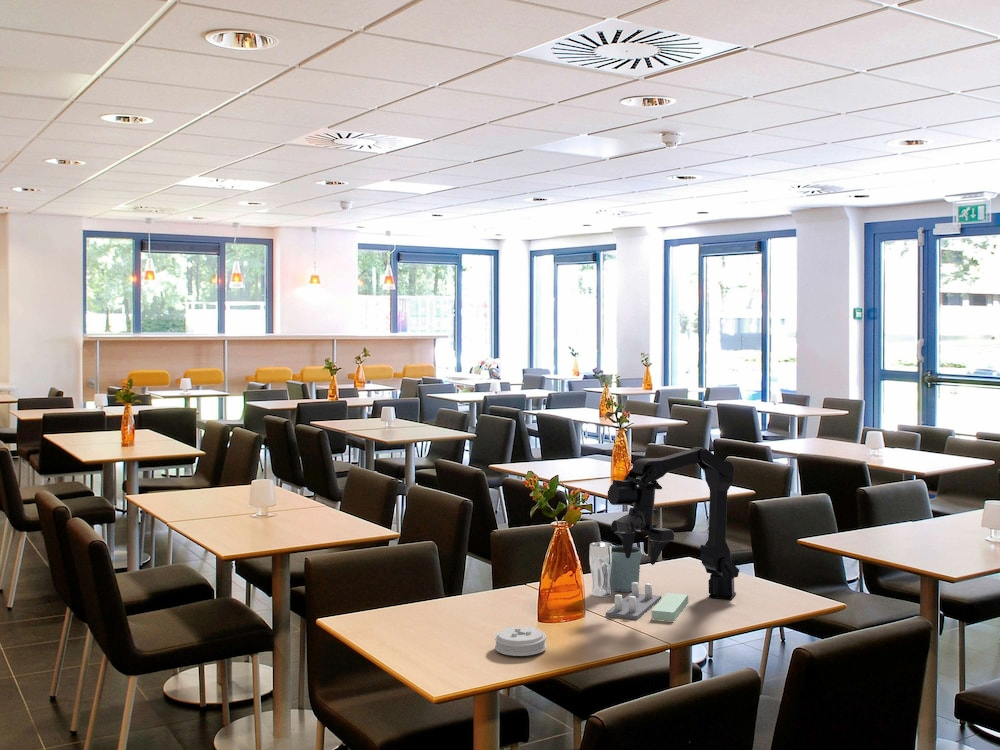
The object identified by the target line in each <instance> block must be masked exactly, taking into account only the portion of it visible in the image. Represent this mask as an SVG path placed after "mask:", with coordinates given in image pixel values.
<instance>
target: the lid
mask: <svg viewBox="0 0 1000 750" xmlns="http://www.w3.org/2000/svg"><path fill="white" fill-rule="evenodd" d="M494 640H495V646H494V649H495V650H496V651H497V653H499V654H502V655H505V656H514V657H517V656H518V657H524V656H525V657H526V656H533V655H537V654H540V653H543V652H544V651H545V650H546V649H547V646H548V645H547V644H546V640H547V634H546V633H545V632H544V631H542V630H541V629H539V628H537V627H531V626H512V627H508V628H504V629H502V630H500V631H499V632H498V633H497V634H495V636H494Z"/></svg>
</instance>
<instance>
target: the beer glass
mask: <svg viewBox="0 0 1000 750" xmlns="http://www.w3.org/2000/svg"><path fill="white" fill-rule="evenodd" d="M612 547H613V544H612V543H611V542H607V541H597V542H591V543H590V544H589V553H588V554H589V557H588V558H589V566H590V567H589V568H590V573H591V578H592V590H591V596H593V597H596V598H609V597H612V596H613V590H612V589H611V575H612V568H613V551H612Z"/></svg>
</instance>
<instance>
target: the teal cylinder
mask: <svg viewBox="0 0 1000 750" xmlns="http://www.w3.org/2000/svg"><path fill="white" fill-rule="evenodd" d="M612 551H613V568H612V575H611V589H612V591H613V590H614V592H617V591H621V592H620V593H628V592H627V591H632V582H638V583H639V584H640V572H641V571H640V569H641V558H642V549H641V548H640V547H637V546H633V547H632V552H631V555H630V558H626V555H625V552H624V548H623V545H615V546H613V545H612Z"/></svg>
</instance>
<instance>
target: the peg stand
mask: <svg viewBox="0 0 1000 750" xmlns="http://www.w3.org/2000/svg"><path fill="white" fill-rule="evenodd" d="M639 586H640V582H639V583H638V582H632V592H629V594H627V595H626V596H625V597H624V598H623V595H622V594H615V595H614V605H613V606H612V607H610V608H609V609H608V610H607V611H606V612H605V617H608V618H609V617H610V618H611V617H613V618H620V619H626V620H627V619H628V620H637V621H638V620H639V619H641V617H642V616H643V615H645V614H646V613H647V612H649V611H650V609H652V608H653V607H654V606H656V605H657V604H658V603H659V602H660V601H661V600H660V599H662V596H661V595H655V594H653V584H652V583H648V582H647V583H644V593H639V591H640V589H639V588H640V587H639ZM659 600H660V601H659ZM653 605H654V606H653ZM652 606H653V607H652ZM644 613H645V614H644Z"/></svg>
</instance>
